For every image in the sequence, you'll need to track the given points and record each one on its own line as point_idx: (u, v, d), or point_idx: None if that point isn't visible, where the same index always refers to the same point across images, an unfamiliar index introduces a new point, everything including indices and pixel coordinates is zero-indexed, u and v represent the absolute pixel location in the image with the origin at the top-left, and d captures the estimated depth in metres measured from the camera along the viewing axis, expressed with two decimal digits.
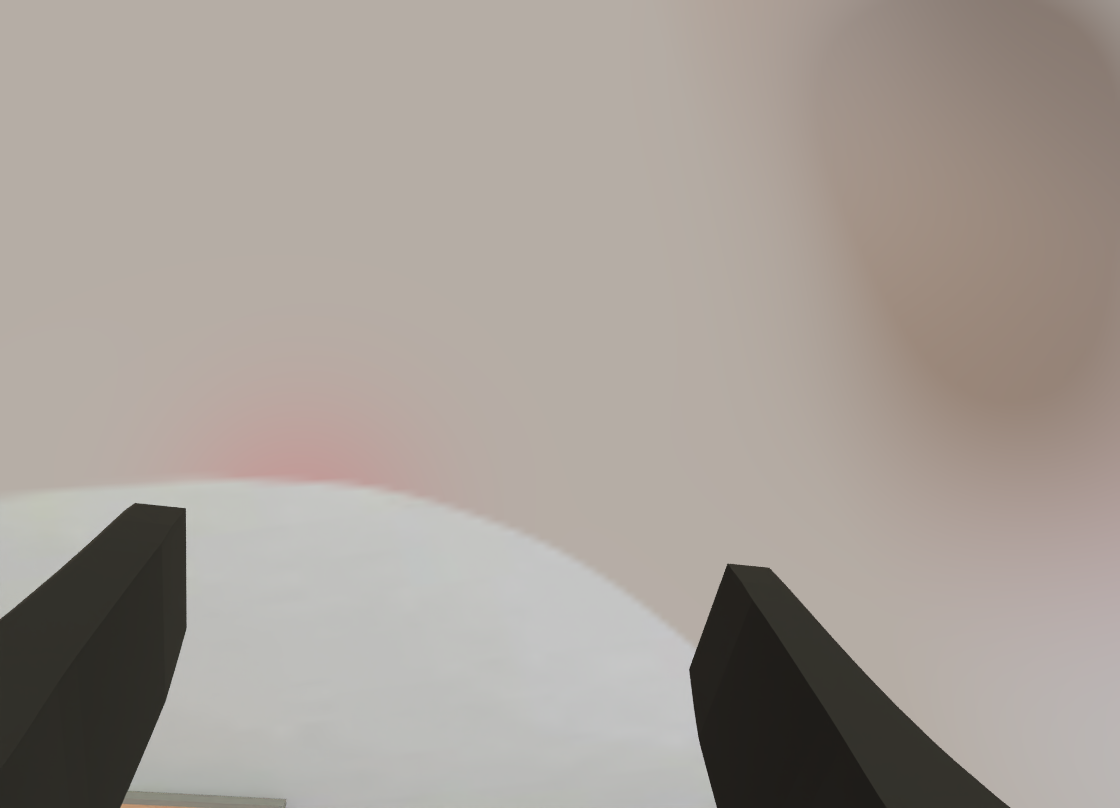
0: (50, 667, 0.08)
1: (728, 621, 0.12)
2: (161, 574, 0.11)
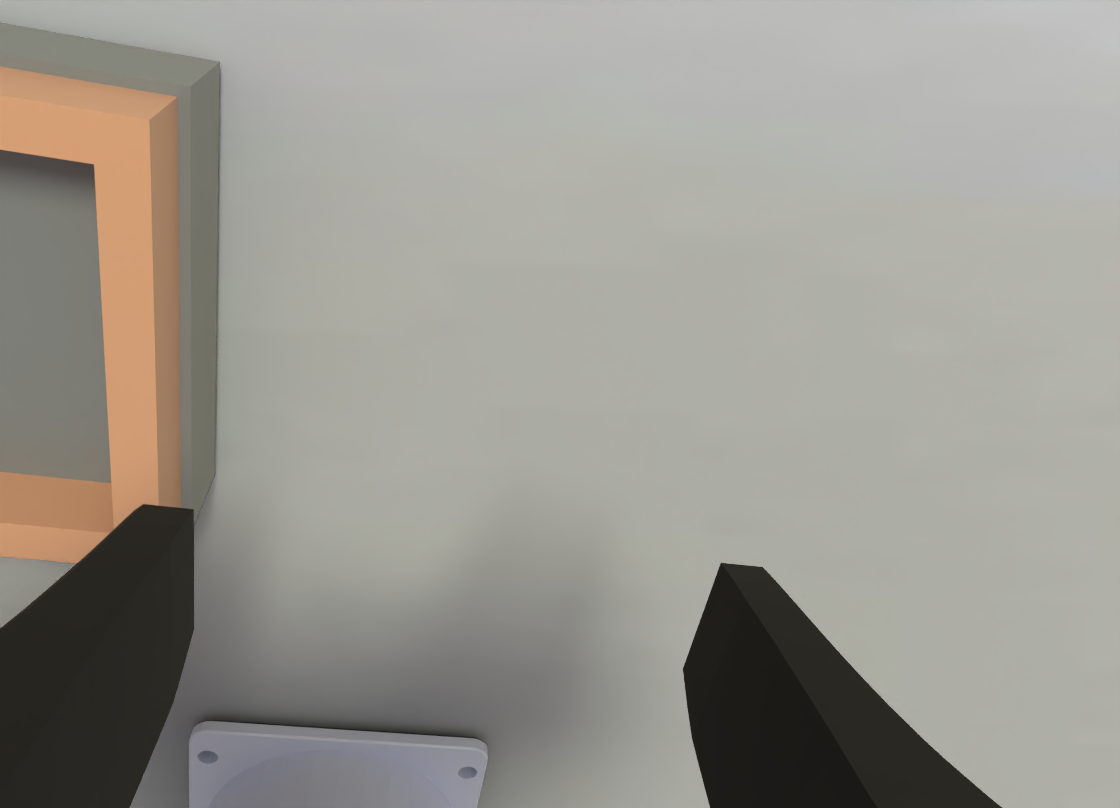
0: (62, 668, 0.08)
1: (721, 620, 0.12)
2: (170, 575, 0.11)
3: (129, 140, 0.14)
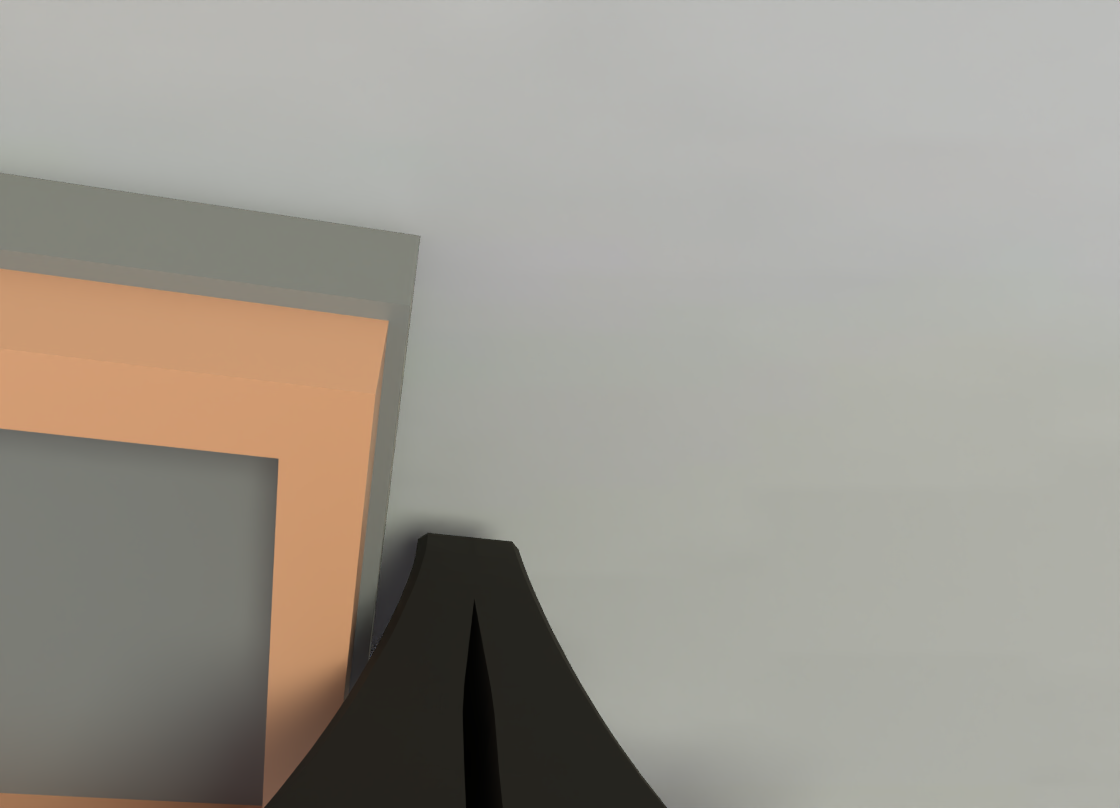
0: (447, 697, 0.09)
1: None
2: None
3: (339, 424, 0.08)
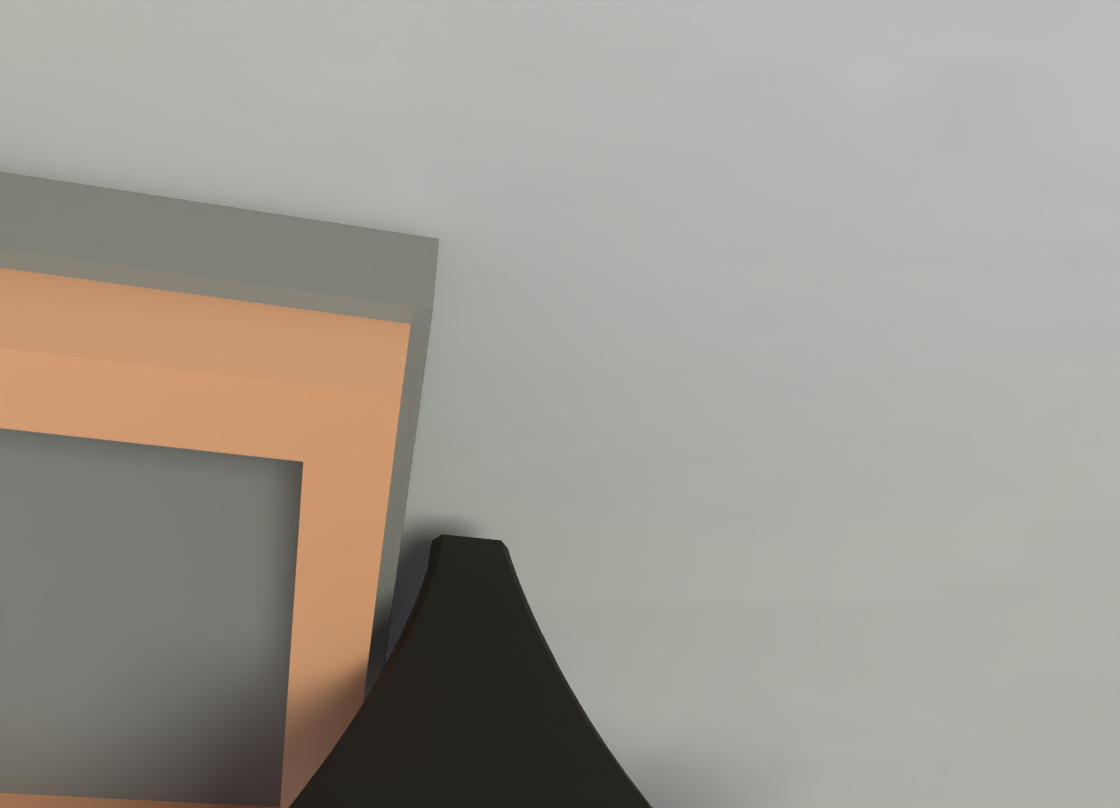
0: (466, 698, 0.09)
1: None
2: None
3: (364, 426, 0.08)
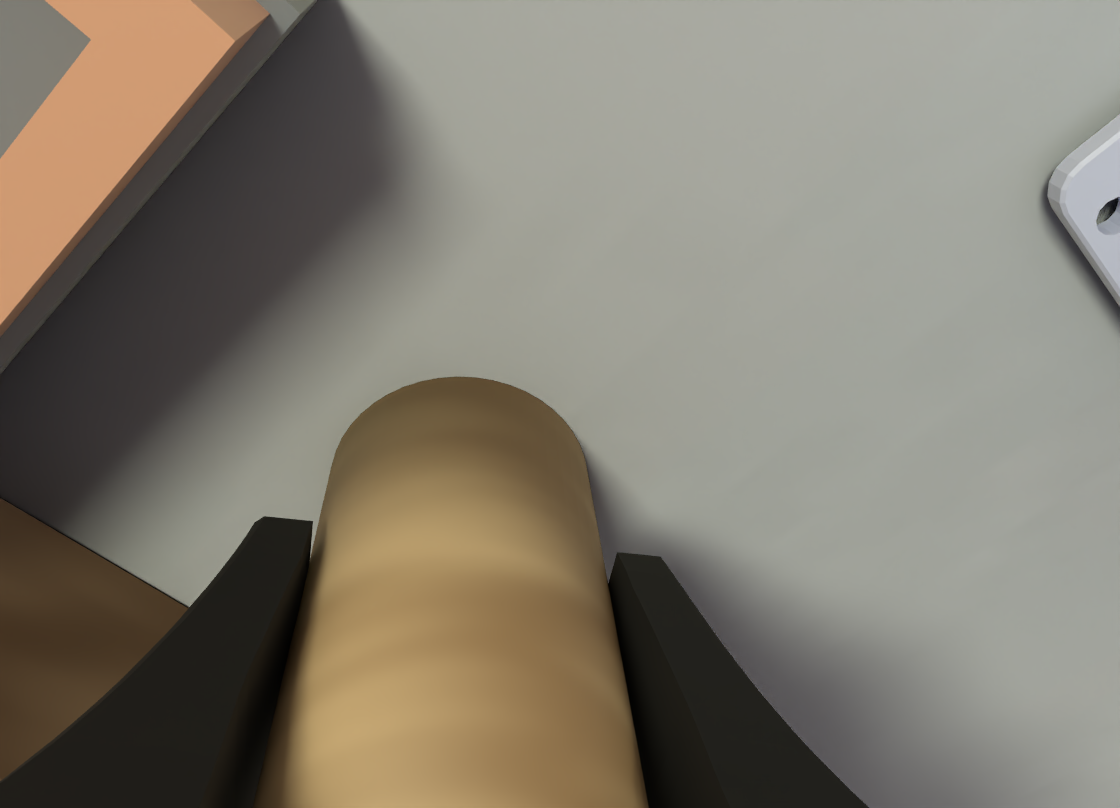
0: (227, 681, 0.09)
1: (615, 610, 0.12)
2: (298, 587, 0.11)
3: None
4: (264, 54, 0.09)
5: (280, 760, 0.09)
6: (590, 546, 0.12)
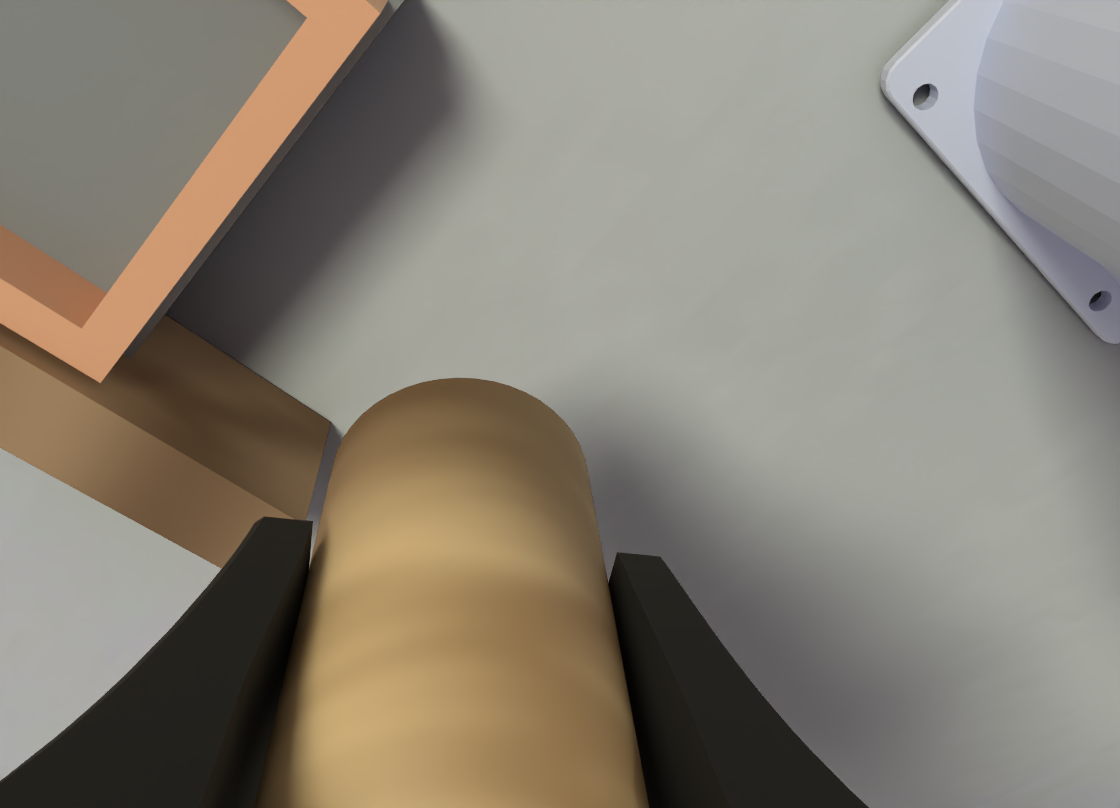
0: (227, 680, 0.09)
1: (615, 611, 0.12)
2: (298, 587, 0.11)
3: None
4: (385, 23, 0.16)
5: (282, 762, 0.09)
6: (590, 547, 0.12)
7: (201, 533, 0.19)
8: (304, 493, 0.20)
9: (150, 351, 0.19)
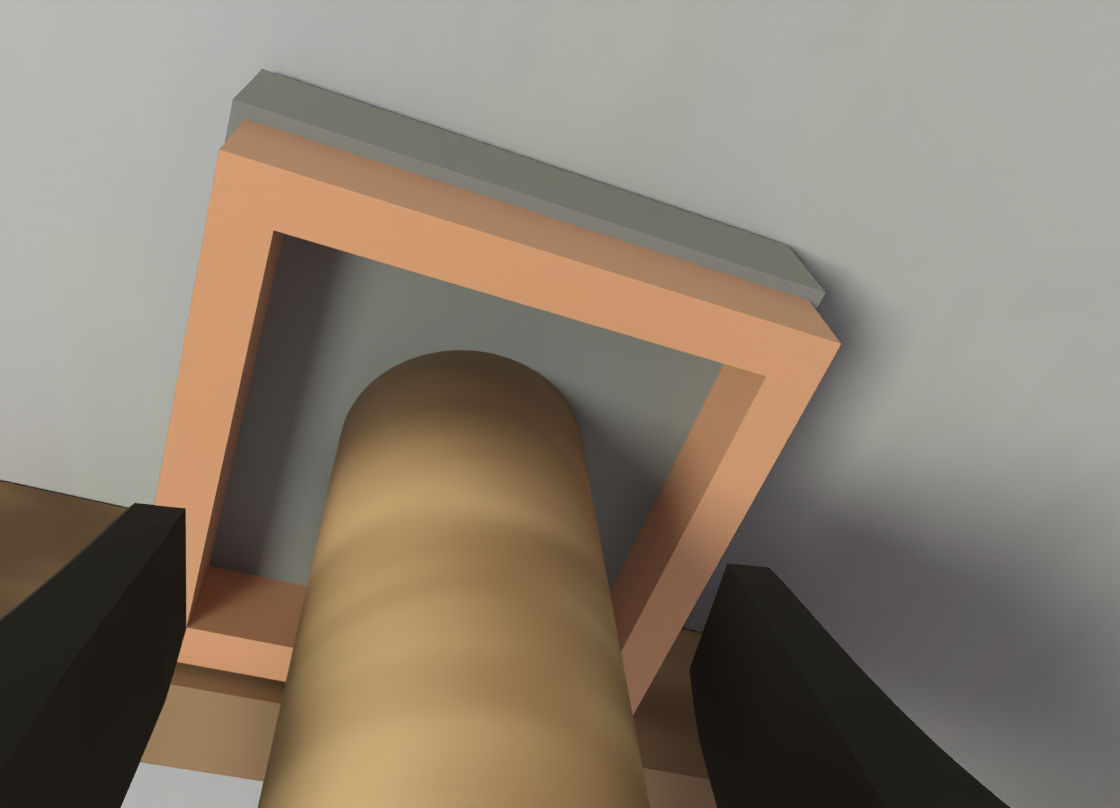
0: (50, 667, 0.08)
1: (728, 621, 0.12)
2: (161, 574, 0.11)
3: (244, 181, 0.11)
4: None
5: (300, 689, 0.10)
6: (583, 504, 0.13)
7: None
8: None
9: None
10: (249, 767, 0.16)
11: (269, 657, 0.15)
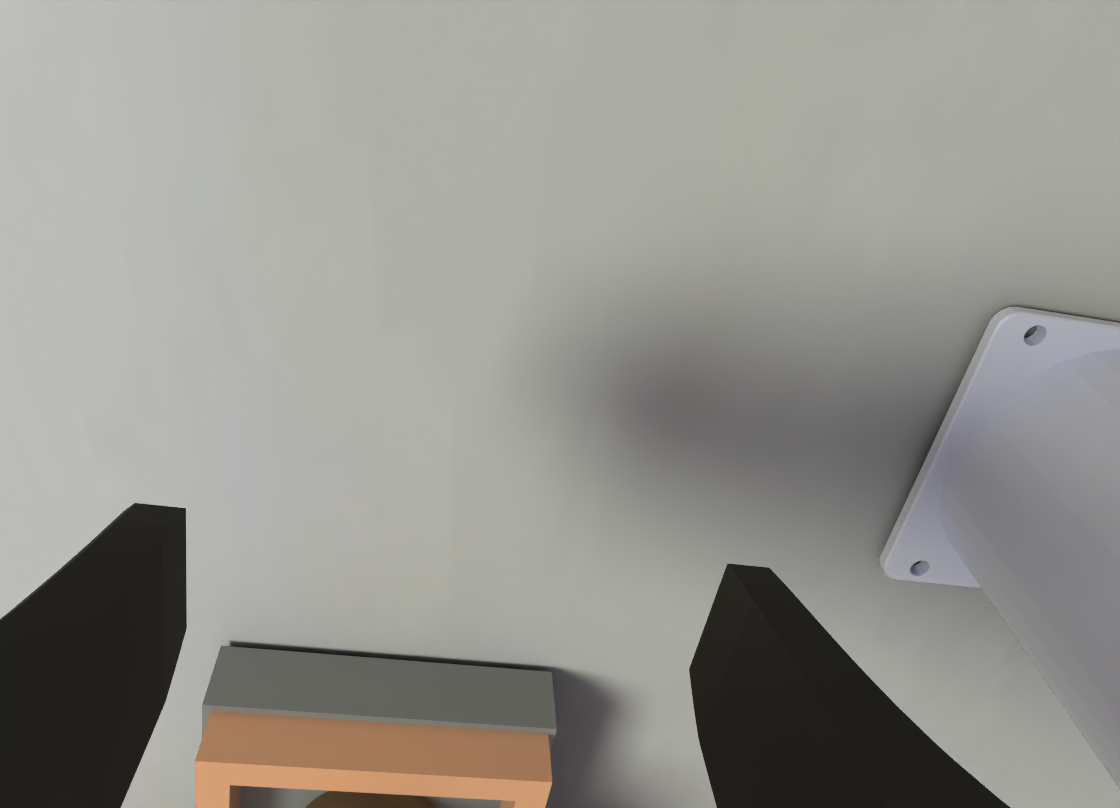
0: (50, 667, 0.08)
1: (728, 621, 0.12)
2: (161, 574, 0.11)
3: (210, 770, 0.22)
4: None
5: None
6: None
7: None
8: None
9: None
10: None
11: None
